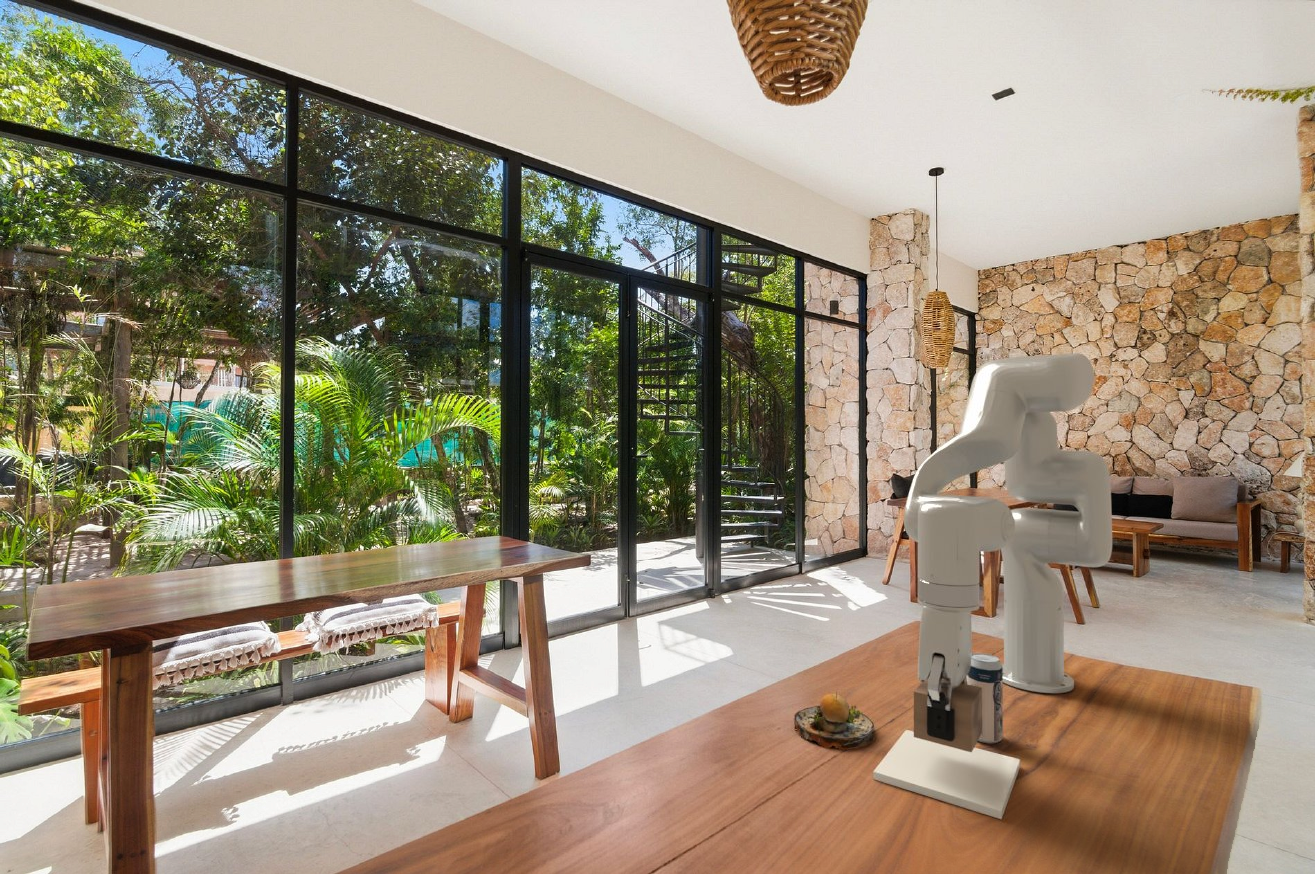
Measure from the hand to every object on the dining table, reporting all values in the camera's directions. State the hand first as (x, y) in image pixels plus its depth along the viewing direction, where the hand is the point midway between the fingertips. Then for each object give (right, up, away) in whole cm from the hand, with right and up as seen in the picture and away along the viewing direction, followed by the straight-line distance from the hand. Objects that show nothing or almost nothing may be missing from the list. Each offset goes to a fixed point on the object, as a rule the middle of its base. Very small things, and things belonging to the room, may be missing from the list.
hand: (947, 726), depth 86 cm
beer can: (+10, -6, +10) cm, 16 cm away
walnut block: (0, -1, 0) cm, 1 cm away
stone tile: (0, -6, 0) cm, 6 cm away
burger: (-12, -7, +13) cm, 19 cm away
